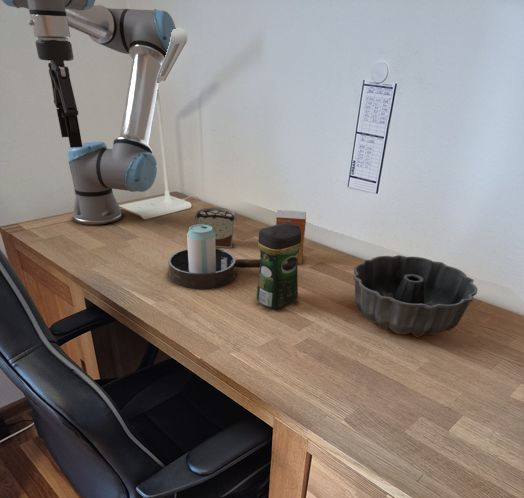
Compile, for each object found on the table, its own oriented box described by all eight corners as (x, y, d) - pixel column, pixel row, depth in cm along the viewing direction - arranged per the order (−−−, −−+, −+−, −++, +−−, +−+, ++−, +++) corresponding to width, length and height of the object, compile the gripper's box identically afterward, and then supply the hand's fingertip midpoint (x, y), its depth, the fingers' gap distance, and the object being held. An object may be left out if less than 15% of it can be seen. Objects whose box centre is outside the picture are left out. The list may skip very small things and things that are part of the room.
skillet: (172, 260, 127) (171, 247, 124) (234, 260, 128) (234, 247, 126) (166, 289, 112) (165, 274, 110) (236, 288, 114) (236, 274, 112)
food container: (239, 240, 141) (239, 208, 135) (236, 248, 136) (236, 215, 130) (200, 237, 142) (198, 205, 136) (195, 245, 136) (194, 212, 131)
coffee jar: (280, 289, 115) (284, 216, 104) (302, 301, 110) (309, 226, 99) (250, 300, 109) (252, 224, 99) (272, 313, 104) (276, 235, 94)
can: (187, 267, 122) (185, 223, 115) (213, 265, 123) (212, 222, 117) (190, 279, 116) (188, 233, 110) (218, 277, 118) (217, 232, 111)
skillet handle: (233, 269, 119) (233, 261, 118) (233, 265, 121) (233, 257, 120) (283, 269, 120) (284, 261, 119) (282, 265, 122) (283, 258, 121)
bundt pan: (326, 299, 111) (331, 260, 106) (415, 284, 120) (424, 248, 114) (389, 358, 91) (400, 315, 86) (490, 336, 100) (505, 295, 94)
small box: (273, 262, 128) (275, 216, 121) (274, 253, 133) (276, 209, 126) (302, 264, 128) (306, 218, 120) (301, 255, 133) (306, 211, 126)
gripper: (29, 37, 110) (49, 133, 122) (41, 40, 92) (63, 152, 104) (62, 38, 113) (78, 132, 125) (80, 41, 95) (97, 150, 107)
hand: (71, 141), depth 114 cm, fingers open, 13 cm apart
